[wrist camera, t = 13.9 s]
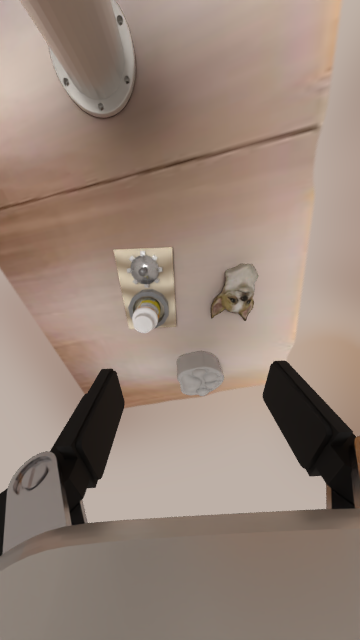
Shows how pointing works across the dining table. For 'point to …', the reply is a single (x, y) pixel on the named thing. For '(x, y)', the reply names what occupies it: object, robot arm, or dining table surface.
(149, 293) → the socket ring
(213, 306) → the ceramic sculpture
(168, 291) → the gear board
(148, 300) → the supplement bottle
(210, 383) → the lumpy-topped squat cylinder
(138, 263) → the gear
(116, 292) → the dining table surface
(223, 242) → the dining table surface
